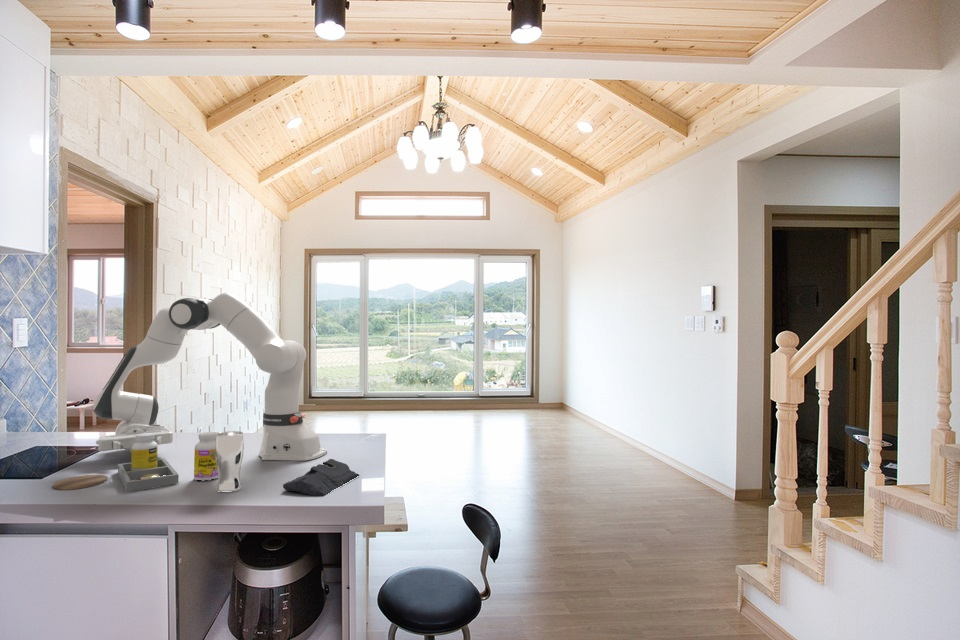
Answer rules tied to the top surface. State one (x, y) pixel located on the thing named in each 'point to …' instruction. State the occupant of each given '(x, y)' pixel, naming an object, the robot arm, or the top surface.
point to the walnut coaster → (79, 482)
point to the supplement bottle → (205, 457)
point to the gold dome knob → (149, 476)
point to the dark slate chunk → (322, 478)
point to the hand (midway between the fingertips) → (139, 444)
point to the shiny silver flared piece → (229, 459)
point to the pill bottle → (144, 452)
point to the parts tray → (161, 469)
